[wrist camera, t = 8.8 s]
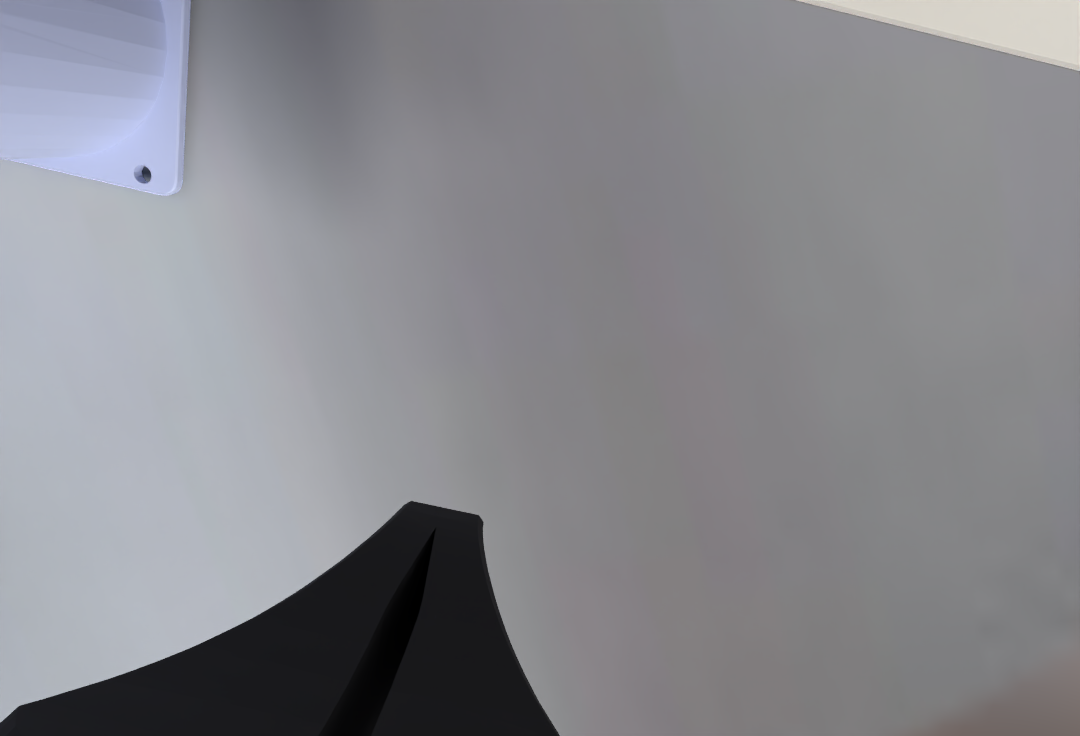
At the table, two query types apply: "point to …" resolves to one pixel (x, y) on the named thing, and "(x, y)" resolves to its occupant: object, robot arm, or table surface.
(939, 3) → the mat
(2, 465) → the table surface
